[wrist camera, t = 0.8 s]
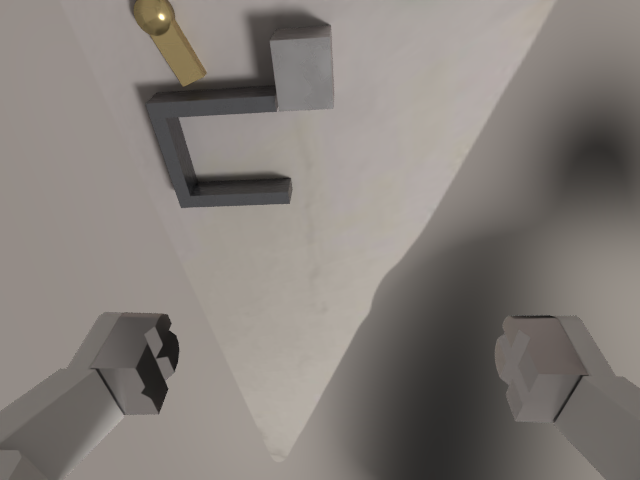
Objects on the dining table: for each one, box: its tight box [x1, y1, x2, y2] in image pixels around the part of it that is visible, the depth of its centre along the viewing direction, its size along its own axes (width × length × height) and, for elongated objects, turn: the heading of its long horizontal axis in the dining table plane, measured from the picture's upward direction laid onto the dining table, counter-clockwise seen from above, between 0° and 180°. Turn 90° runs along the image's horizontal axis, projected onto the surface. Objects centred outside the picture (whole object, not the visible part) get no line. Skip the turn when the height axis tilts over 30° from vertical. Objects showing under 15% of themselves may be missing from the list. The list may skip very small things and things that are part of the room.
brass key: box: [134, 0, 207, 87], centre depth 38 cm, size 8×3×1 cm, turn 24°
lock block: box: [270, 25, 334, 111], centre depth 38 cm, size 6×5×4 cm
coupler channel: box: [145, 85, 292, 208], centre depth 44 cm, size 12×12×3 cm
